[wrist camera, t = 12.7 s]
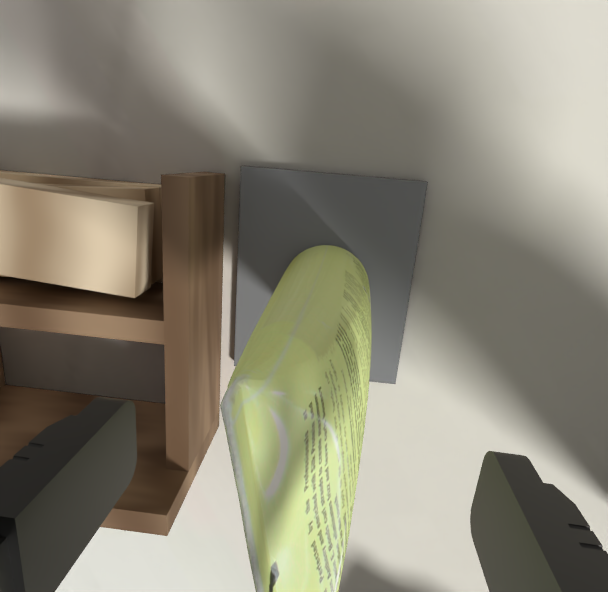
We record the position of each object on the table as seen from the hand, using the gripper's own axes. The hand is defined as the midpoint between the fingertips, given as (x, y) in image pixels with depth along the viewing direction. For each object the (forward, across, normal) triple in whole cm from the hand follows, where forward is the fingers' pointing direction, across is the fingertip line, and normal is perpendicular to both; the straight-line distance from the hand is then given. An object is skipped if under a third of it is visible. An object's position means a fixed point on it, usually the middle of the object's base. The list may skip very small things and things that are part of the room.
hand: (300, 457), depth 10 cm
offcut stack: (+16, +14, -2) cm, 22 cm away
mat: (+16, 0, 0) cm, 16 cm away
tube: (+16, 0, 0) cm, 16 cm away
